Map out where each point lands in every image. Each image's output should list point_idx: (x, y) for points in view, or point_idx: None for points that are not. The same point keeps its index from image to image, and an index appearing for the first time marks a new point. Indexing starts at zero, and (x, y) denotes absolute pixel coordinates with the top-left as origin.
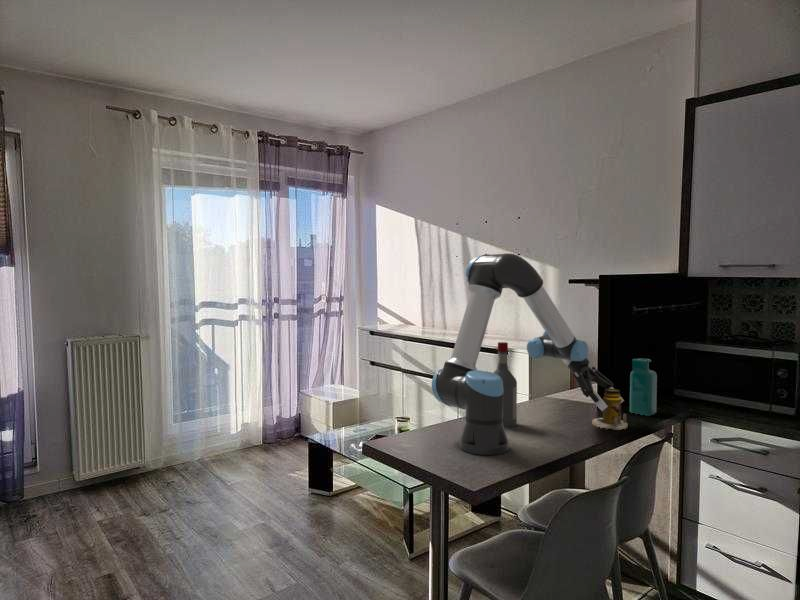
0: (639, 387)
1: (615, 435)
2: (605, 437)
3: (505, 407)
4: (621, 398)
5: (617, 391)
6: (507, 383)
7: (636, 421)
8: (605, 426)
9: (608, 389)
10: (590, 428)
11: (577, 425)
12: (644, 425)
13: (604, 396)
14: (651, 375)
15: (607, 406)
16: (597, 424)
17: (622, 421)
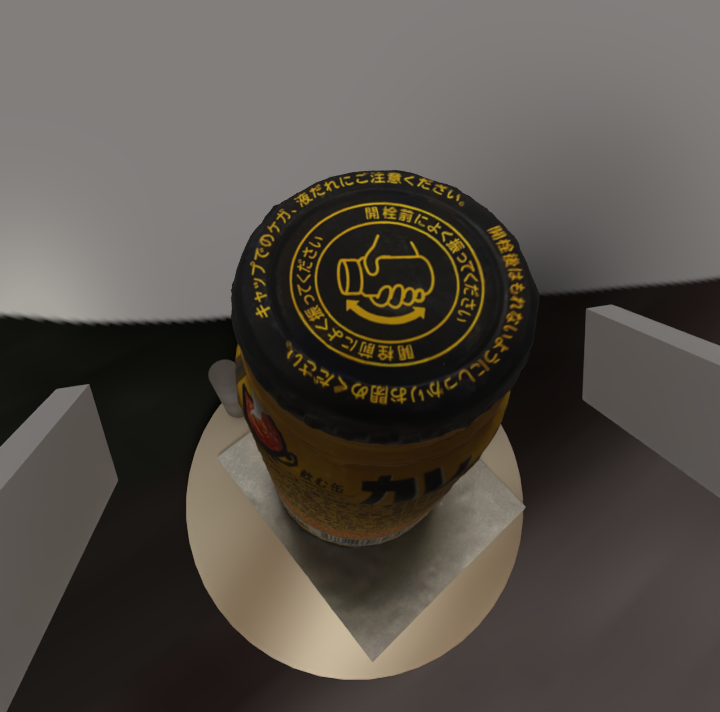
0: None
1: (563, 298)
2: (670, 308)
3: None
4: (67, 402)
5: (406, 173)
6: None
7: (4, 439)
8: (500, 432)
9: (385, 369)
10: (600, 530)
11: (647, 690)
12: (103, 329)
13: (476, 433)
14: None
15: (596, 308)
16: (521, 512)
17: (229, 431)
